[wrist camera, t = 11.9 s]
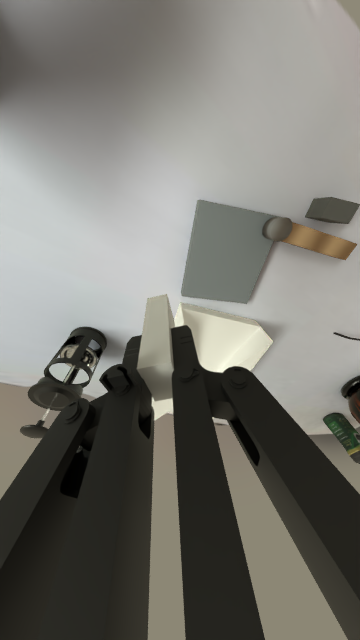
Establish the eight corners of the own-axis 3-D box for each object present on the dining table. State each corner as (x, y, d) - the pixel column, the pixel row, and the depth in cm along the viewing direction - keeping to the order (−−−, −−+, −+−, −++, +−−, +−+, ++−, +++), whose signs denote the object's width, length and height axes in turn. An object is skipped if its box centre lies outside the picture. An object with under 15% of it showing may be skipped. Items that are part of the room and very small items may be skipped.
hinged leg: (258, 236, 32) (267, 238, 29) (268, 214, 30) (278, 214, 27) (331, 258, 35) (345, 262, 33) (344, 240, 33) (359, 242, 31)
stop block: (313, 198, 31) (331, 197, 28) (340, 205, 32) (360, 204, 29) (305, 217, 33) (320, 217, 30) (330, 222, 34) (348, 223, 31)
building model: (198, 406, 69) (202, 432, 61) (145, 401, 64) (143, 428, 56) (254, 319, 47) (273, 341, 39) (180, 301, 42) (184, 322, 34)
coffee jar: (319, 419, 84) (354, 466, 68) (331, 411, 80) (371, 459, 65) (332, 421, 86) (369, 467, 71) (345, 413, 82) (386, 460, 67)
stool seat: (197, 200, 30) (199, 199, 28) (275, 217, 33) (283, 217, 30) (181, 291, 40) (181, 296, 38) (242, 299, 42) (246, 303, 40)
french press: (75, 319, 41) (-2, 411, 22) (112, 332, 45) (73, 424, 25) (65, 350, 47) (-4, 447, 27) (99, 360, 50) (59, 453, 31)
